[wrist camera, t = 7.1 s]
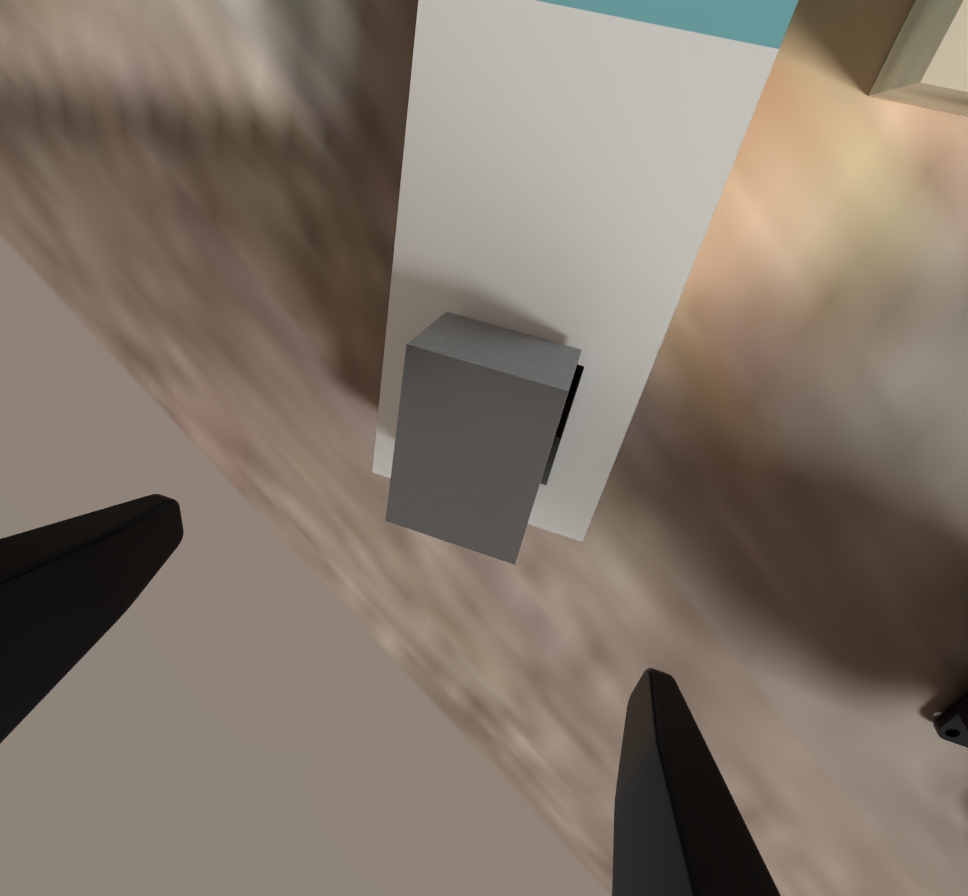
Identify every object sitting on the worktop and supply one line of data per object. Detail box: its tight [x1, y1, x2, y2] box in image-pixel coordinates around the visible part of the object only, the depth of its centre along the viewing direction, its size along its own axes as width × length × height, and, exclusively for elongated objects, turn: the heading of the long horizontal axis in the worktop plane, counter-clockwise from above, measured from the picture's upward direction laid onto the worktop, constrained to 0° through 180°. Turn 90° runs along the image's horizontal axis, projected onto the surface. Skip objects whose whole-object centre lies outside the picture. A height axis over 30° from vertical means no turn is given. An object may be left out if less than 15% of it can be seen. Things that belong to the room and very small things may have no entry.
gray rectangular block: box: [386, 312, 582, 564], centre depth 17 cm, size 4×6×7 cm
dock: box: [372, 0, 799, 542], centre depth 14 cm, size 8×22×4 cm, turn 169°
